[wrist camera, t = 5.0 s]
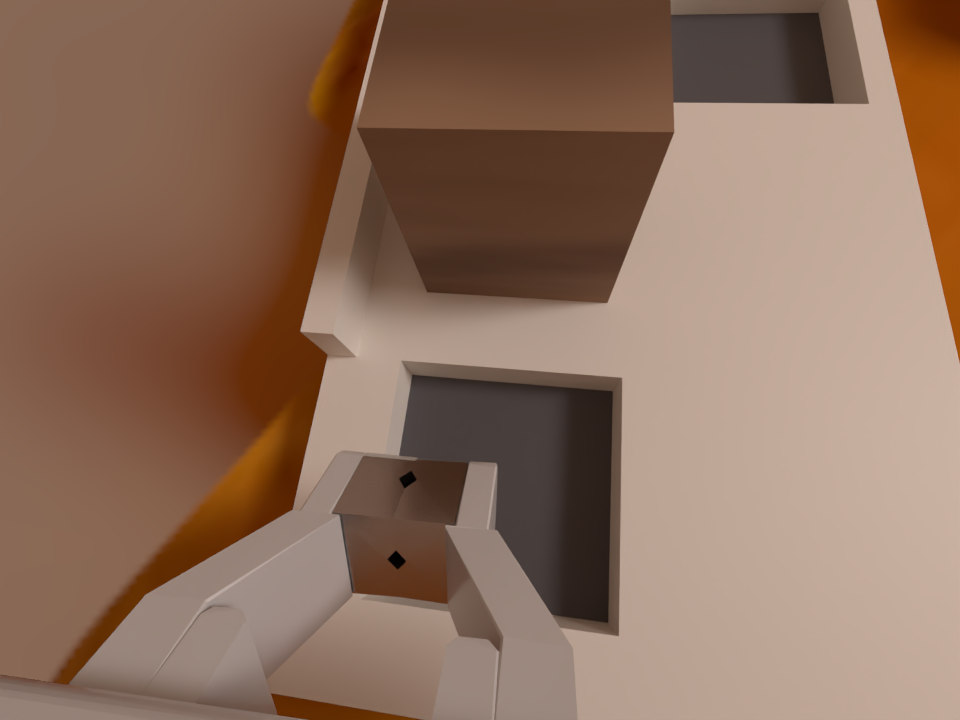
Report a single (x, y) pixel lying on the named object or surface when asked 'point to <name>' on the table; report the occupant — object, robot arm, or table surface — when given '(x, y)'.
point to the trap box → (685, 407)
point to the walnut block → (520, 138)
